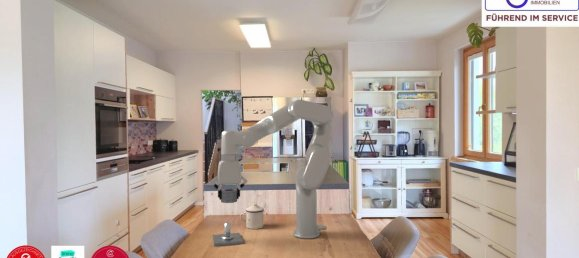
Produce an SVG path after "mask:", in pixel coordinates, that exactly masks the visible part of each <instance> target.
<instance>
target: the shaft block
mask: <svg viewBox="0 0 579 258" xmlns="http://www.w3.org/2000/svg"><path fill="white" fill-rule="evenodd" d="M223 228H224V232H223V233H221V234H213V235H212V240H213V241H212V242H213V246H214V247H221V246H222V247H223V246H232V245H243V244H244V240H243V237H242V236H241V233H240V232H233V233H232V232H231V228H232V227H231V222H230V221H226V222H224V227H223Z"/></svg>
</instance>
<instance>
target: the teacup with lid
mask: <svg viewBox="0 0 579 258" xmlns="http://www.w3.org/2000/svg"><path fill="white" fill-rule="evenodd" d="M264 210H265V209H264V207H262V206H259V205H258V204H257V203H253V204H252V205H251V206H249V207H247V208H246V209H245V212H241V213H240V215H239V218H240V221H241V222H243V223H245V227H246V228H247V229H249V230H257V229H262V228H264ZM243 215H246V217H245V219H243V217H242V216H243Z"/></svg>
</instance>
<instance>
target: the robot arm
mask: <svg viewBox="0 0 579 258" xmlns="http://www.w3.org/2000/svg"><path fill="white" fill-rule="evenodd" d="M300 119H301V120H304V121H308V122H311V124H312V125H313V128H314V129H313V135H312V137H311V140H310V143H309V145H308V148H307V149H306V151H305V155H304V156H305V160H306V161H307V163H306V165H304V166H300V167H298V169H297V170H296V173H295V175H294V183H295V194H296V195H295V197H296V198H295V199H296V200H295V203H296V204H295V210H296V211H295V213H296V214H295V215H296V216H295V218H296V219H295V220H296V221H295V224H296V225H295V227H296V228H295V229H294V230H293V231H292V235H293V236H294V237H296V238H299V239H317V238H318V237H320V236H321V231H326V230H328V227H327V225H322V224H317V223H318V222H317V220H318V215H317V214H318V213H317V212H318V210H317V208H318V205H317V201H318V199H317V198H318V195H317V189H319V188H320V186H321V185H322V184H323V182H324V179H325V177H326V174H327V172H328V169H329V167H330V164H331V161H332V155H331V154H332V153H331V151H330V149H329V145H330V143H331V140H332V137H333V136H332V135H333V129H332V125H331V122H332V121H333V119H334V112H333V109H332V108H331V107H329V106H328V105H326V104H325V105H324V104H322V103H317V102H312V101H308V100H304V99H295V100H293V101H291V102H290V103H288V104H286V105H284V106H282V107H281V108H279V109H277V110H276V111H274V112H273V113H272V112H271V113H270V114H269V115H267V116H266V117H264V118H263V119H261V120H259V121H258V122H256V123H255V124H253V125H252V126H250V127H248V128H246V129H244V130H239V131H237V130H223V131H222V132H221V146H220V147H221V148H220V149H221V150H220V160H219V161H218V165H217V166H218V167H217V175H216V176H215V177H214V178H212V179H211V180H210V183H211V184H212V185H213V187H214V188H215V189H216V190H217V198H219V200H220V201H221V194H222V191H221V190H222V187H223V186H225V185H235V186H236V189H237V200H239V199H240V197H241V190H242V188H243V187H245V185H246V184H247V183H248V180H247V179H246V178H245V177H244V176H243V175H242V169H241V168H242V167H241V162H240V161H239V160H242V155H239V147H243V148H251V147H252V148H253V146H255V144H256V143H257V142H258V141H260V140H262V139H264V138H265V137H267V136H269V135H272V134H275V133H278V132H279V131H281V130H283V129H285V128H286V127H288V126H290V125H292V124H293V123H294V122H296V121H298V120H300ZM216 181H217V183H218V184H217V183H216Z"/></svg>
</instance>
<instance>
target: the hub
mask: <svg viewBox="0 0 579 258" xmlns="http://www.w3.org/2000/svg"><path fill="white" fill-rule="evenodd" d="M221 191H222V194H221V200H220V202H221V203H223V204H235V203H238V199H237V188H236V189H235V188H225V189H224V188H223V189H221Z"/></svg>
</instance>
